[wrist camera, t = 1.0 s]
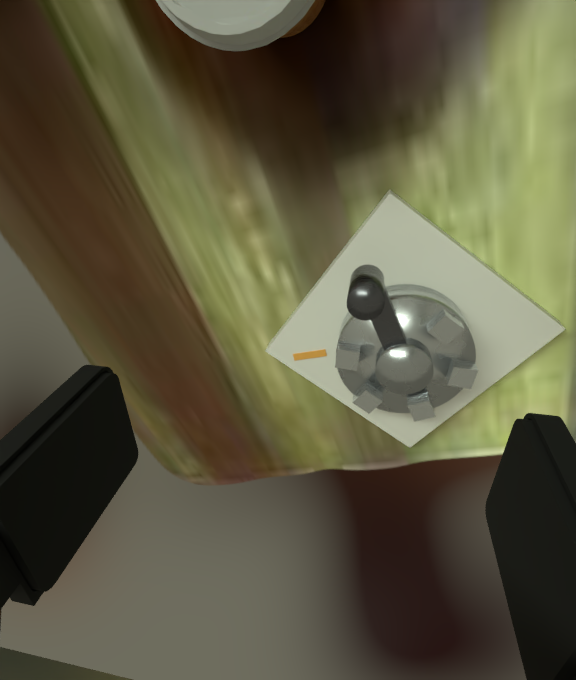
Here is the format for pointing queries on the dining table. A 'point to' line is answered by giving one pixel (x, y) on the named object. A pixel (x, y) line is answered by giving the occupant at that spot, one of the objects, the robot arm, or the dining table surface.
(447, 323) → the silver lever knob
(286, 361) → the base plate
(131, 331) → the dining table surface
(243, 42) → the disposable coffee cup
